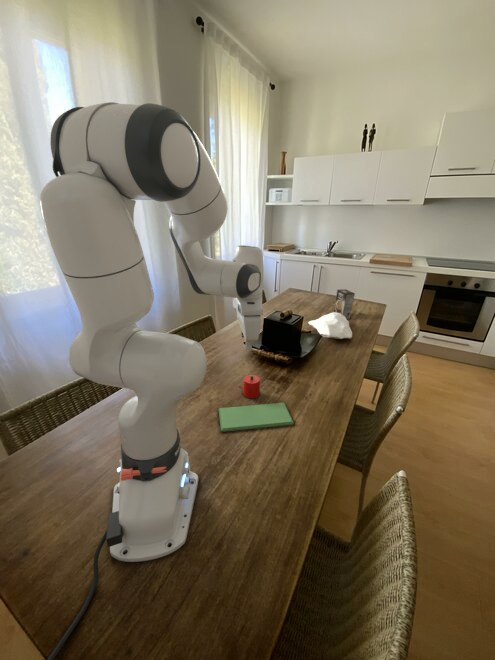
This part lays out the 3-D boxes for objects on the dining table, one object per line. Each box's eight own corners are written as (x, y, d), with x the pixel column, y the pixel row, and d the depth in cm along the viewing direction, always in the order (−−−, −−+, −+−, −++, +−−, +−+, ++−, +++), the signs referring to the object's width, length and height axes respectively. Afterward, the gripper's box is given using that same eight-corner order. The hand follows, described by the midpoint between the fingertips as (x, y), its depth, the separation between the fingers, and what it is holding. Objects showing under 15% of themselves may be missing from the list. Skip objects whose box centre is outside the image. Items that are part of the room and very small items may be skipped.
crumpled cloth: (298, 338, 139) (303, 321, 135) (314, 316, 168) (318, 302, 164) (346, 354, 132) (352, 338, 128) (353, 328, 161) (359, 314, 157)
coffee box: (332, 314, 177) (336, 289, 171) (341, 313, 179) (345, 288, 173) (341, 319, 169) (345, 293, 163) (350, 318, 171) (355, 292, 165)
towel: (293, 424, 85) (293, 422, 84) (221, 432, 81) (221, 429, 81) (284, 403, 94) (284, 401, 94) (218, 409, 90) (218, 407, 90)
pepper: (260, 397, 97) (261, 379, 94) (244, 398, 96) (245, 380, 93) (257, 388, 102) (258, 370, 99) (242, 389, 101) (242, 371, 98)
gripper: (233, 292, 93) (232, 330, 99) (241, 312, 75) (240, 357, 80) (251, 292, 94) (250, 329, 100) (264, 311, 76) (262, 356, 81)
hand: (246, 342), depth 90 cm, fingers open, 8 cm apart
